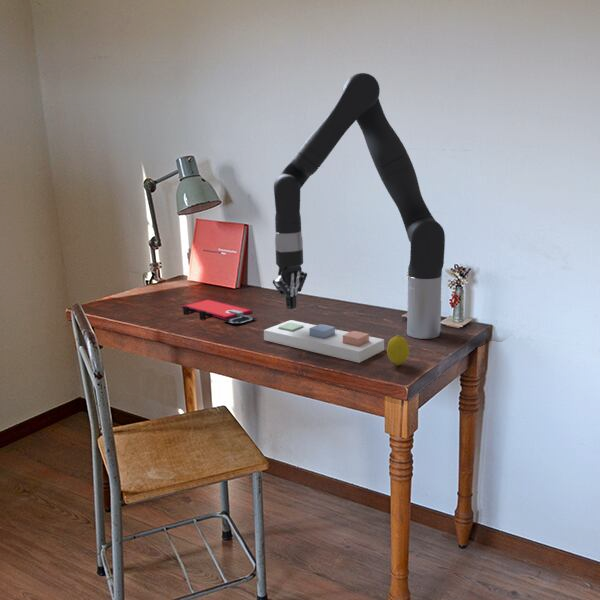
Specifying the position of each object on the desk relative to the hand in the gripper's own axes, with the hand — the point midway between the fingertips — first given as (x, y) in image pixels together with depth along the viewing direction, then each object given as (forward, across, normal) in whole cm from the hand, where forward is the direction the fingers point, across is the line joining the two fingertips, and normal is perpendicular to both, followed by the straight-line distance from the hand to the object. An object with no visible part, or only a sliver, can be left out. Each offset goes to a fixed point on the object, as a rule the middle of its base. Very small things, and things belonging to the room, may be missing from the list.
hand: (291, 308), depth 199 cm
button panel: (+9, 0, +11) cm, 14 cm away
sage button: (+8, 0, 0) cm, 8 cm away
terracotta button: (+6, 0, +22) cm, 23 cm away
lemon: (+9, +2, +36) cm, 37 cm away
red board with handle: (+9, -6, -35) cm, 37 cm away
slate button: (+6, 0, +11) cm, 12 cm away
